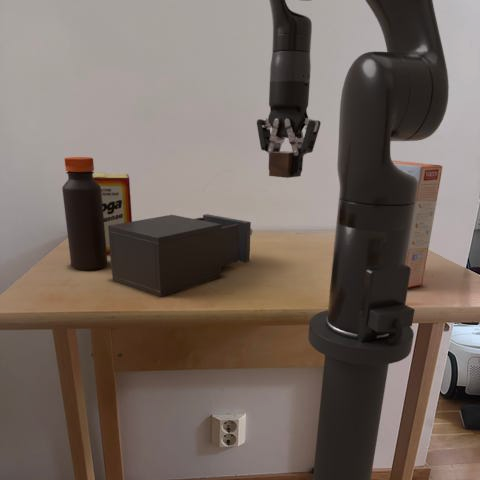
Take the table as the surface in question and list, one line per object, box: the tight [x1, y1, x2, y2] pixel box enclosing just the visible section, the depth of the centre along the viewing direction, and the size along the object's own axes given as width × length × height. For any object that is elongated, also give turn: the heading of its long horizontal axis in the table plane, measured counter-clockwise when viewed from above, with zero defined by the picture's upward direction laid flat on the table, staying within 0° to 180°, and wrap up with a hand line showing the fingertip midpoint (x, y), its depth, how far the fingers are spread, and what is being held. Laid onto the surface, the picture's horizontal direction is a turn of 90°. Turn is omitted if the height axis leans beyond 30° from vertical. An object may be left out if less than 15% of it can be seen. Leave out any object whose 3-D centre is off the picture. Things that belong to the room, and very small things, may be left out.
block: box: [268, 150, 302, 179], centre depth 97 cm, size 5×5×5 cm
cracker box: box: [392, 160, 443, 289], centre depth 87 cm, size 14×6×21 cm, turn 32°
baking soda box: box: [93, 172, 133, 255], centre depth 103 cm, size 10×6×16 cm
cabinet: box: [108, 214, 222, 298], centre depth 86 cm, size 15×13×10 cm
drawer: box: [195, 213, 253, 268], centre depth 95 cm, size 18×12×8 cm, turn 140°
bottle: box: [61, 156, 108, 271], centre depth 91 cm, size 7×7×20 cm
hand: (284, 174), depth 98 cm, fingers closed on block, 4 cm apart
